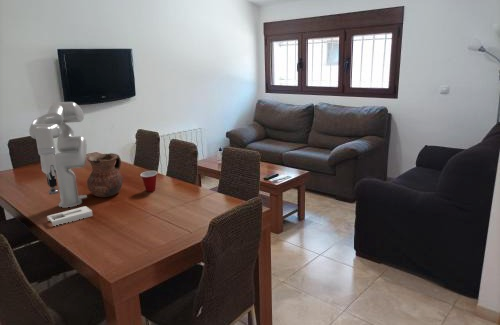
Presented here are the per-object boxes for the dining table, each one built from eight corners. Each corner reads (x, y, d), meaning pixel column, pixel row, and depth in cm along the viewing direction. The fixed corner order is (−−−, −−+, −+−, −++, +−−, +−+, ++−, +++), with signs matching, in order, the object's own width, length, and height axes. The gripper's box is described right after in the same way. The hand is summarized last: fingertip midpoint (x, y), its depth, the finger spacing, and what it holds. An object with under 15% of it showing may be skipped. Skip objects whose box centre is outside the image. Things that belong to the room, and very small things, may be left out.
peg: (56, 191, 195) (53, 169, 192) (59, 192, 192) (55, 170, 189) (47, 193, 192) (43, 170, 189) (50, 195, 189) (46, 172, 186)
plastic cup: (138, 191, 240) (136, 174, 237) (149, 187, 249) (148, 169, 246) (151, 194, 235) (149, 176, 232) (162, 189, 244) (160, 171, 241)
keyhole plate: (86, 211, 210) (85, 206, 209) (92, 215, 203) (92, 210, 202) (47, 221, 197) (46, 216, 197) (53, 226, 190) (52, 221, 189)
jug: (111, 200, 226) (106, 161, 219) (81, 198, 230) (75, 160, 223) (130, 188, 247) (126, 152, 240) (102, 187, 251) (97, 151, 244)
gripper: (34, 149, 190) (40, 183, 194) (42, 154, 178) (49, 190, 183) (50, 147, 195) (55, 180, 199) (59, 152, 183) (65, 187, 188)
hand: (52, 185), depth 191 cm, fingers closed on peg, 3 cm apart
